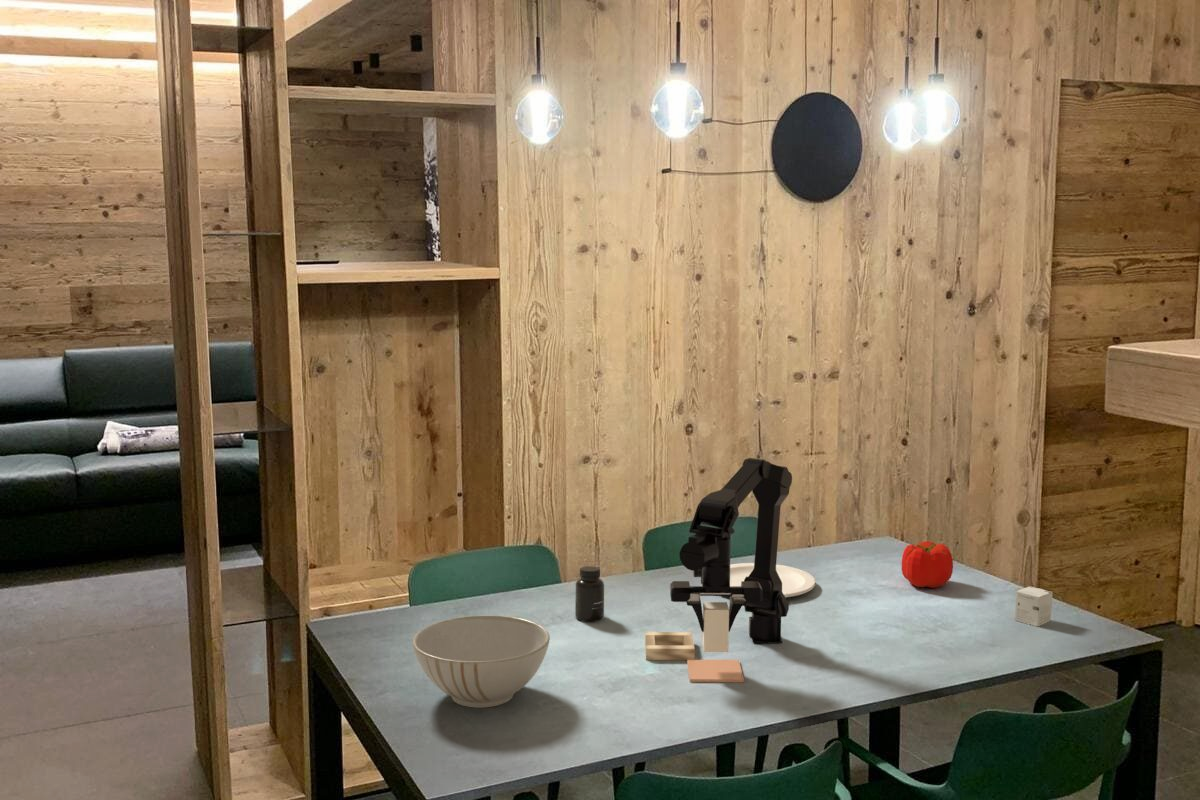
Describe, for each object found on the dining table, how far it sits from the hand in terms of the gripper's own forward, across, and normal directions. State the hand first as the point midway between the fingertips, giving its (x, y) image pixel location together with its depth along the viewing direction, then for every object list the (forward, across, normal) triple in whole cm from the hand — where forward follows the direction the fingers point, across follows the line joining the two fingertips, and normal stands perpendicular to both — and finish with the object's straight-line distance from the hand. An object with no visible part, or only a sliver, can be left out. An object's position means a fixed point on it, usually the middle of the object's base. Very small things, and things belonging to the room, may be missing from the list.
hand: (715, 631), depth 248 cm
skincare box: (+9, -77, -33) cm, 84 cm away
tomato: (+9, -59, -61) cm, 85 cm away
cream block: (+4, 0, 0) cm, 4 cm away
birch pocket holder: (+9, +9, -12) cm, 17 cm away
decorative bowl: (+9, +47, +13) cm, 50 cm away
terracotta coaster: (+9, 0, 0) cm, 9 cm away
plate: (+10, -16, -59) cm, 62 cm away
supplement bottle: (+9, +27, -34) cm, 44 cm away
